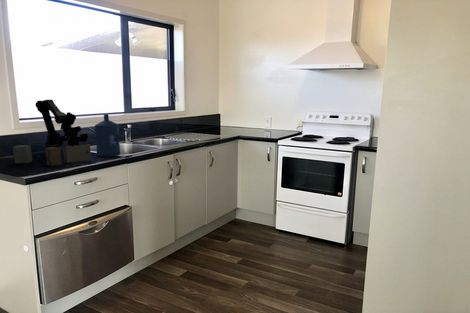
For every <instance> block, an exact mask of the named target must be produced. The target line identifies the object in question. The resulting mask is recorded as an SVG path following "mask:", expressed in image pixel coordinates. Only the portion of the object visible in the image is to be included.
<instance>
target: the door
mask: <svg viewBox="0 0 470 313" xmlns="http://www.w3.org/2000/svg"><path fill="white" fill-rule="evenodd" d="M62 153H63V163H64V164H69V163H76V162H85V161H92V152H91V144H79V145H77V146H70V145H67V146H62Z"/></svg>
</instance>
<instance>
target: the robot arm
mask: <svg viewBox="0 0 470 313" xmlns="http://www.w3.org/2000/svg"><path fill="white" fill-rule="evenodd" d="M35 107H36V109H37V111H38V112H39V113H40V114H41V116H42V119H43V122H44V126H45V128H46V131H47V137H46V142H45V143H44V144H45V147H46V148H51V147H57V148H59V147H62V146H63V145H64V142H66V145H67V146H77V145H80V144H79V143H85V142H87V140H88V138H89V134H88V133H81V134H80V135H79V133H80V132H81V131H82V127H81V126H80V125H76V126H73V125H74V123H75V121H76V119H77V116H76V114H74V113H72V112H69V111H68V112H66V113H65V112H63V111H61V110H60V109H59V107H58V106H57V105H56V104H55V102H54V100H53V99H44V100H36V102H35ZM51 114H52V115H53V116H54V121H53V119H52V116H51ZM54 122H55V124H57V125H60V128H59V129H60V130H62V131H63V135H61V133H60V132H57V131H56V129H55V124H54Z"/></svg>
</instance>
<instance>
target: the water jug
mask: <svg viewBox="0 0 470 313" xmlns="http://www.w3.org/2000/svg"><path fill="white" fill-rule="evenodd" d="M109 118H110V117H109V114H108V113H104V114H103V121H100V122H98V123H96V124H95V125H94V131H95V144H96V145H95V146H96V155H97V156H98V157H114V155H115V156H119V155H120V154H121V145H120V138H119V134H120V128H119V126H120V124H119V123H116V122H114V121H112V120H110V119H109ZM114 136H115V141H114Z"/></svg>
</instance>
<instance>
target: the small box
mask: <svg viewBox="0 0 470 313" xmlns="http://www.w3.org/2000/svg"><path fill="white" fill-rule="evenodd" d="M12 150H13V157H14V163H15V164H29V163H32V162H33V155H32V148H31V144H24V145H22V144H21V145H15V146H12Z"/></svg>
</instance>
